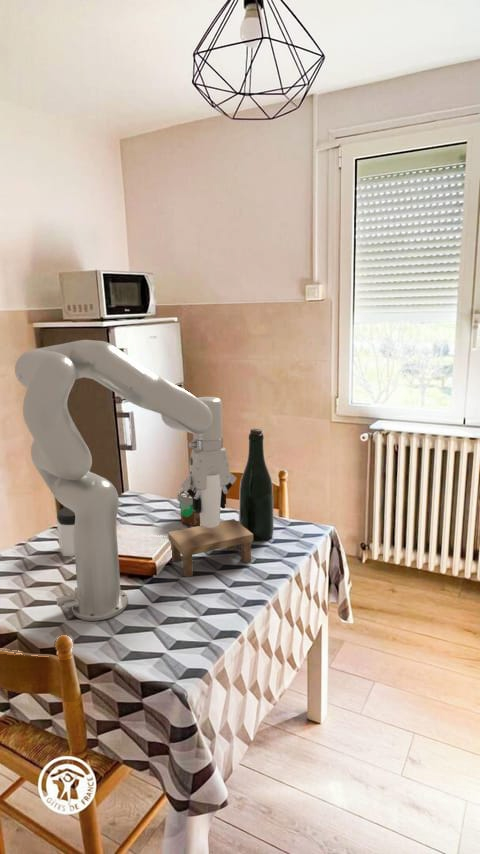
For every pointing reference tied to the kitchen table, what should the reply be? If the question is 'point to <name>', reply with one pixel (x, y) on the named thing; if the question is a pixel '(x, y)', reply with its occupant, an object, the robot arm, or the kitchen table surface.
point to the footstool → (209, 542)
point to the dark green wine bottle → (256, 491)
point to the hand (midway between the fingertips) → (209, 508)
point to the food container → (188, 509)
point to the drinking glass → (211, 502)
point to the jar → (66, 531)
